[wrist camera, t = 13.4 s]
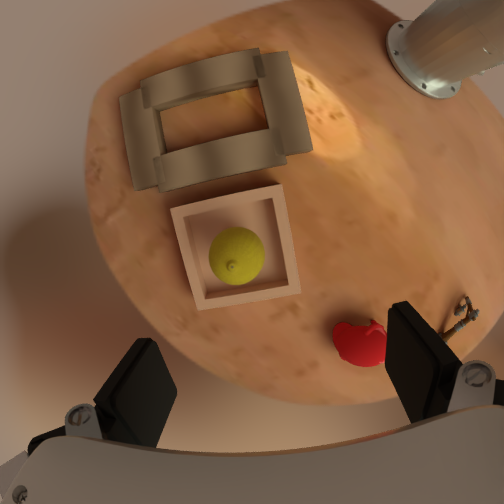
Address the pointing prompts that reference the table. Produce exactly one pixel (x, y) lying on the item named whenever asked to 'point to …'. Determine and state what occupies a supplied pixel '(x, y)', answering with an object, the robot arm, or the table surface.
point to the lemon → (236, 255)
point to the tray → (238, 215)
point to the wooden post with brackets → (460, 324)
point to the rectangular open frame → (222, 150)
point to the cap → (361, 343)
